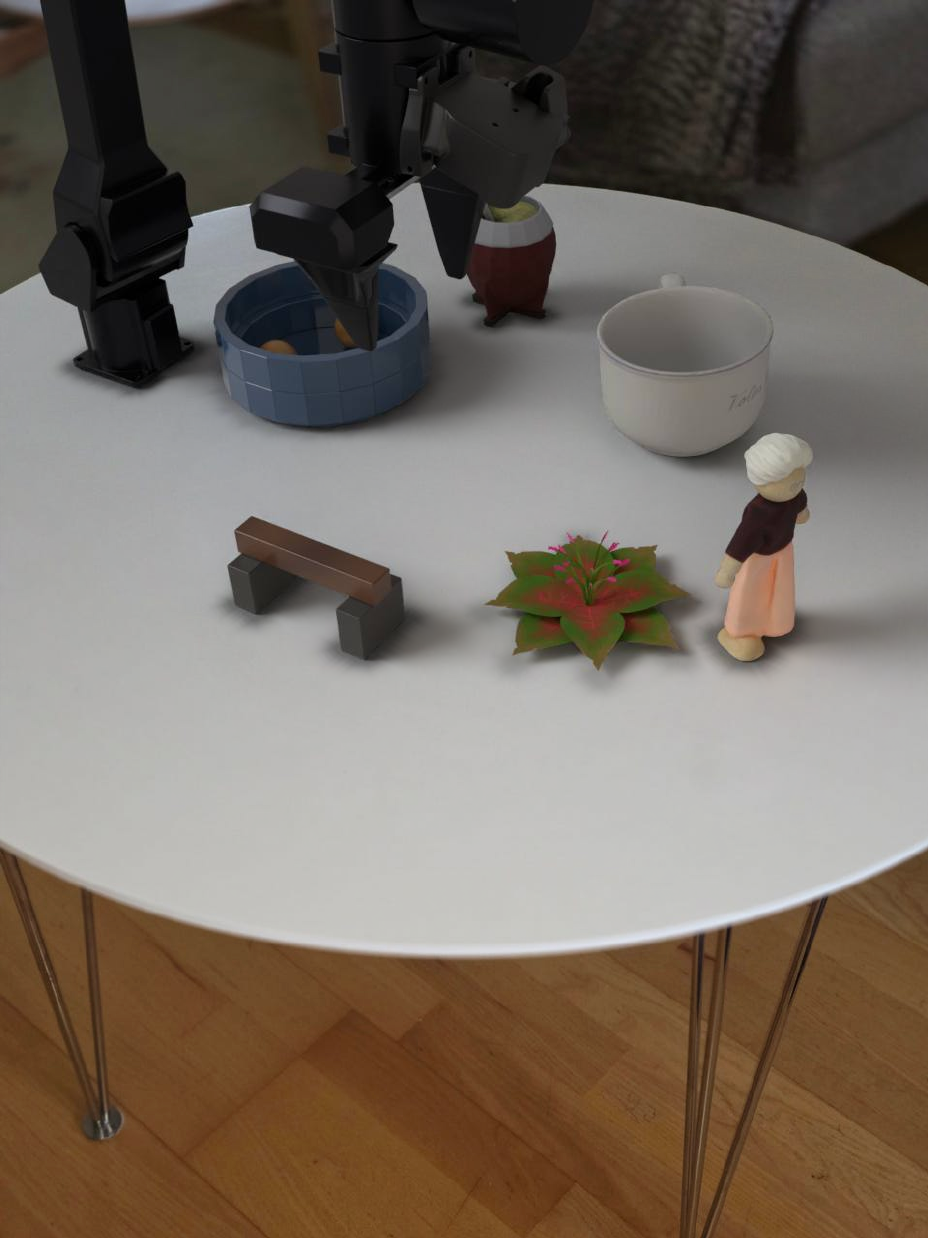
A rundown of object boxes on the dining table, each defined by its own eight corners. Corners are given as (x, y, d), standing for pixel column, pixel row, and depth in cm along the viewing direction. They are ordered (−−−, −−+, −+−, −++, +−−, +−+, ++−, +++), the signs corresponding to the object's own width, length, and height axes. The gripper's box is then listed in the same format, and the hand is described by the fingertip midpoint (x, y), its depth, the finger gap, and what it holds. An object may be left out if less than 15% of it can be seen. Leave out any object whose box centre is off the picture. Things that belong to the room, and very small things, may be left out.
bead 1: (249, 384, 96) (243, 347, 94) (276, 365, 97) (271, 327, 95) (283, 396, 94) (277, 357, 92) (309, 375, 96) (304, 338, 94)
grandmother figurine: (763, 683, 72) (791, 487, 64) (696, 658, 74) (715, 464, 65) (816, 600, 77) (849, 408, 69) (752, 579, 79) (777, 389, 70)
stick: (237, 552, 77) (233, 529, 76) (255, 537, 78) (251, 514, 77) (375, 607, 73) (372, 584, 72) (392, 590, 74) (390, 568, 73)
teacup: (756, 485, 85) (770, 373, 80) (584, 470, 87) (586, 360, 82) (765, 369, 96) (778, 264, 90) (610, 359, 97) (614, 255, 92)
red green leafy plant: (679, 537, 82) (684, 474, 79) (710, 675, 73) (717, 609, 70) (478, 545, 82) (476, 483, 79) (485, 684, 73) (482, 620, 70)
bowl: (183, 397, 96) (169, 326, 92) (310, 307, 105) (301, 240, 101) (351, 454, 90) (343, 382, 86) (470, 354, 99) (467, 284, 95)
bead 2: (328, 350, 99) (323, 312, 97) (352, 331, 101) (348, 294, 99) (362, 360, 97) (358, 322, 96) (386, 341, 99) (382, 304, 97)
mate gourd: (571, 299, 104) (574, 102, 94) (519, 345, 99) (516, 142, 89) (488, 277, 107) (482, 84, 98) (433, 321, 103) (421, 123, 93)
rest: (234, 605, 79) (226, 565, 77) (277, 567, 81) (271, 527, 79) (364, 660, 75) (359, 619, 73) (405, 618, 77) (401, 577, 75)
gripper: (428, 116, 57) (447, 431, 67) (628, -13, 69) (617, 272, 79) (220, 75, 62) (267, 376, 72) (440, -39, 73) (454, 233, 84)
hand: (413, 311), depth 76 cm, fingers open, 9 cm apart
